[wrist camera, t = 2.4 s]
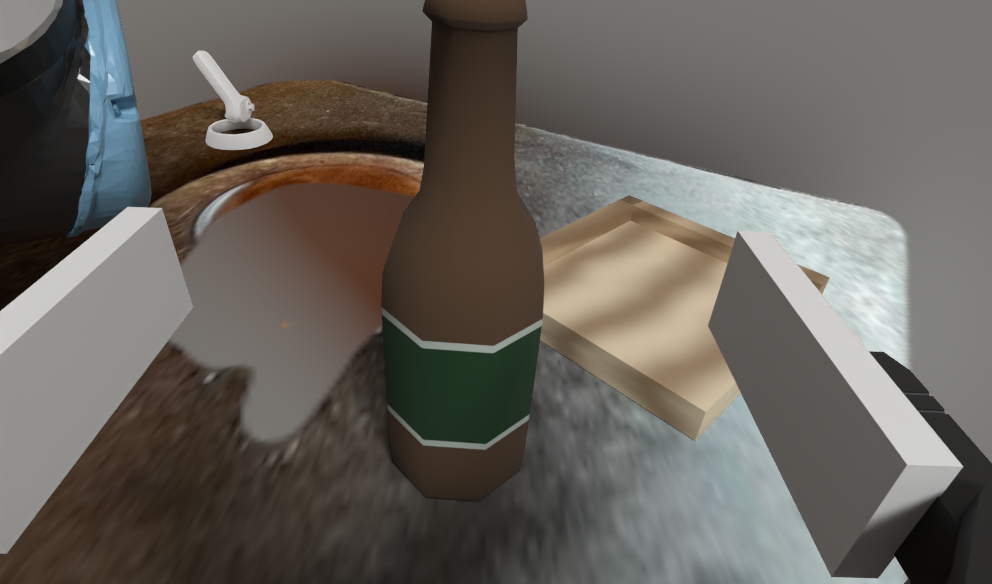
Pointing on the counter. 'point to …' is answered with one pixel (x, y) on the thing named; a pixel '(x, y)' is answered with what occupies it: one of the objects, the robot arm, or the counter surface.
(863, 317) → the counter surface
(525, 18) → the beer bottle
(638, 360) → the wooden tray
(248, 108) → the white ring with handle
